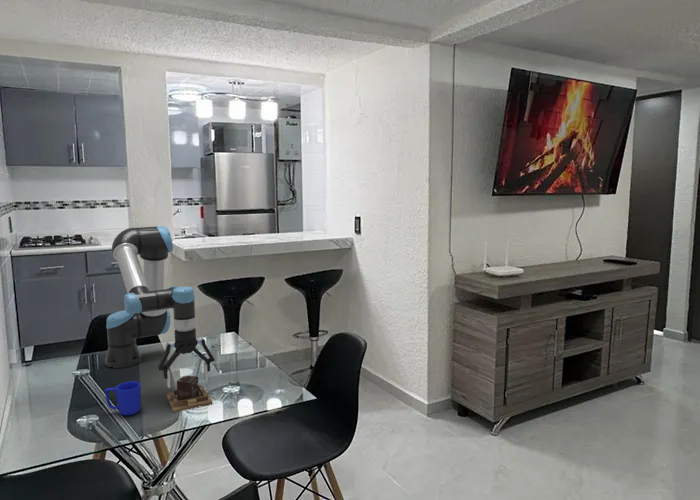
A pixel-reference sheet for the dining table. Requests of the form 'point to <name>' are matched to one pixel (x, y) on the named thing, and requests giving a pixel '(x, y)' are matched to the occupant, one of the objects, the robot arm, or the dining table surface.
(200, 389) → the brown tray
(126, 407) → the mug
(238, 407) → the dining table surface
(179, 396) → the box
